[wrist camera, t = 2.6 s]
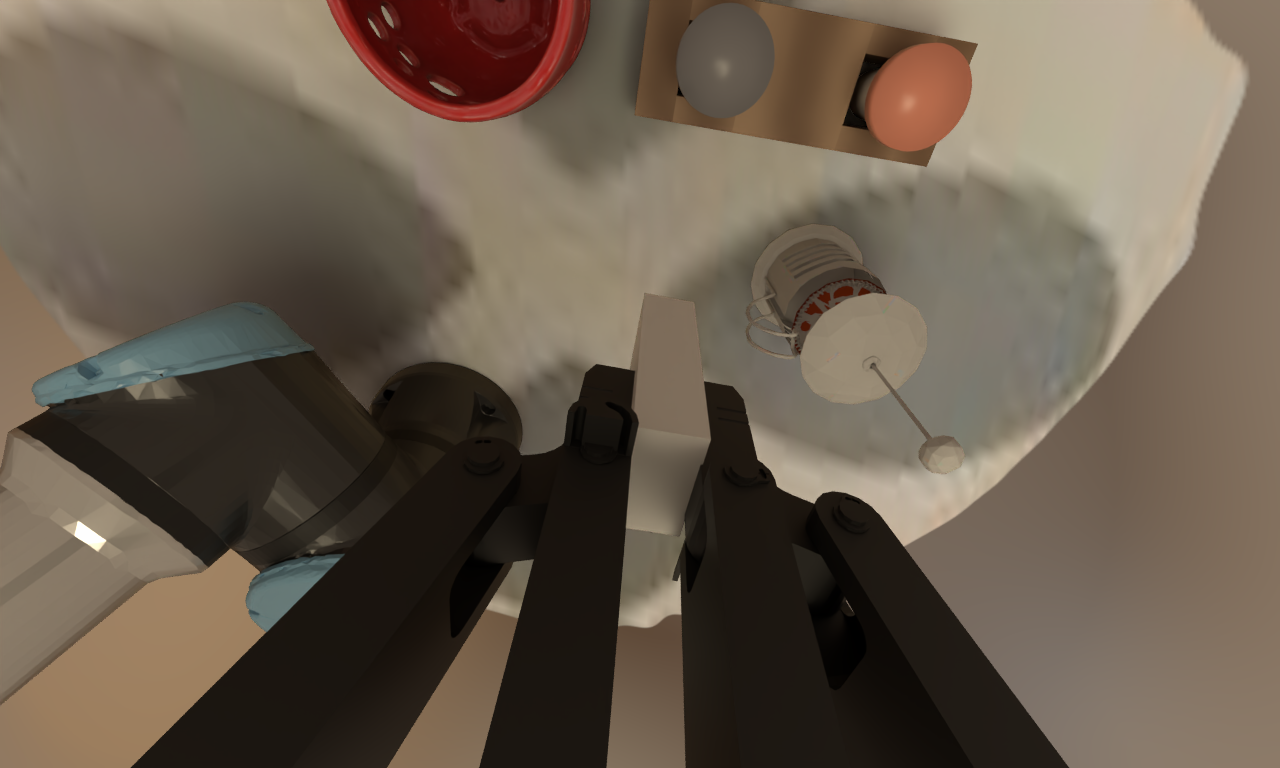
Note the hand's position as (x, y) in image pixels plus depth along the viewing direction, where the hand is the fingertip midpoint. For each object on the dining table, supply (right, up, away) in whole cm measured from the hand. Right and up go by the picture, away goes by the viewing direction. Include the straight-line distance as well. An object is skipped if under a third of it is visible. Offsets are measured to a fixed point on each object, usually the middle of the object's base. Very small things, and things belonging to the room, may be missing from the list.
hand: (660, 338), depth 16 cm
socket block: (+10, +21, +21) cm, 31 cm away
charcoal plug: (+4, +19, +18) cm, 27 cm away
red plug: (+15, +18, +18) cm, 30 cm away
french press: (+13, +8, +29) cm, 33 cm away
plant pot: (-10, +25, +19) cm, 33 cm away
